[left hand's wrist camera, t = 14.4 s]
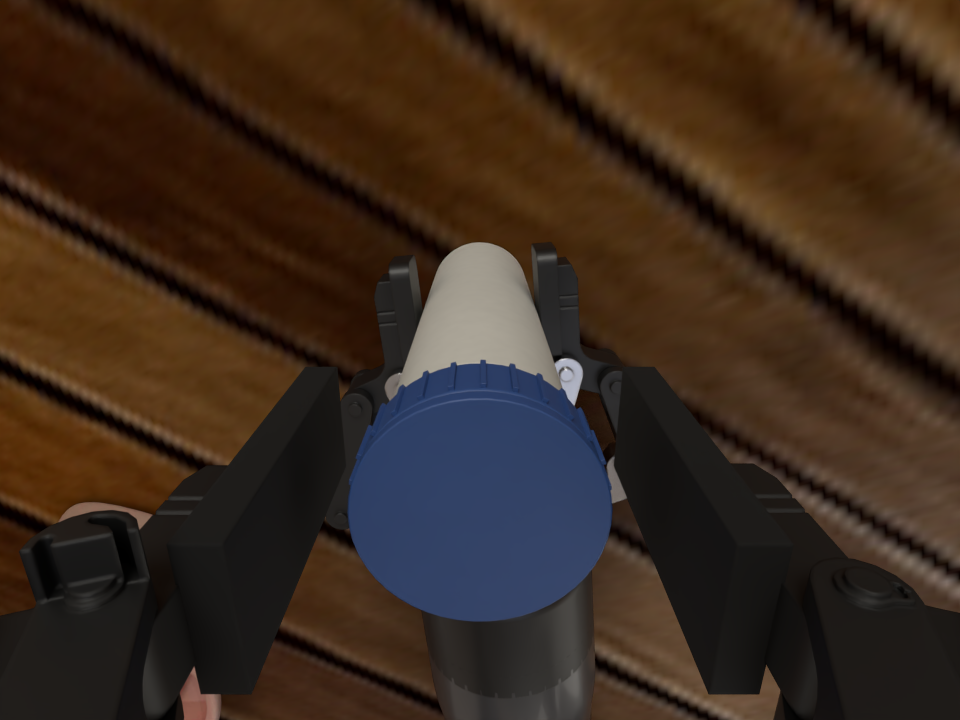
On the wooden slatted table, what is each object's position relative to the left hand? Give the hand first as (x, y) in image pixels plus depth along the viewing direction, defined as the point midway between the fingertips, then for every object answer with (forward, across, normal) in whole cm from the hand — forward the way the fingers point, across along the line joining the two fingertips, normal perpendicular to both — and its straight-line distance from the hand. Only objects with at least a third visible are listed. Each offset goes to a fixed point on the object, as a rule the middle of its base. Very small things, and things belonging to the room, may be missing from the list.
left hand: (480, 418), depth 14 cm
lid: (-4, 0, 0) cm, 4 cm away
